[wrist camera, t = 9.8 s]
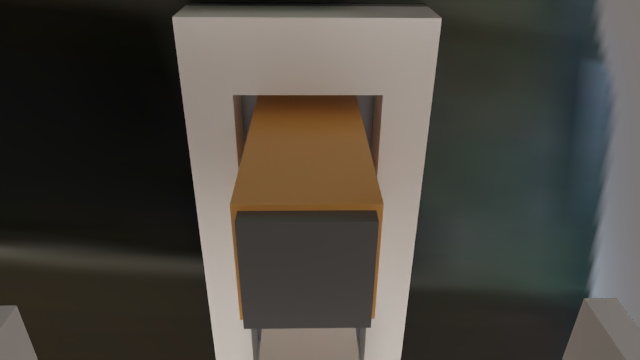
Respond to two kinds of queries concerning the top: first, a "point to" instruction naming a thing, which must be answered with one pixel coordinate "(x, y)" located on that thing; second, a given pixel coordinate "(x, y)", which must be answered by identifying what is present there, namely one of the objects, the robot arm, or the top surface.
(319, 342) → the twin plug
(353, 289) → the plug
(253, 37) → the pdu strip
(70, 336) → the top surface
